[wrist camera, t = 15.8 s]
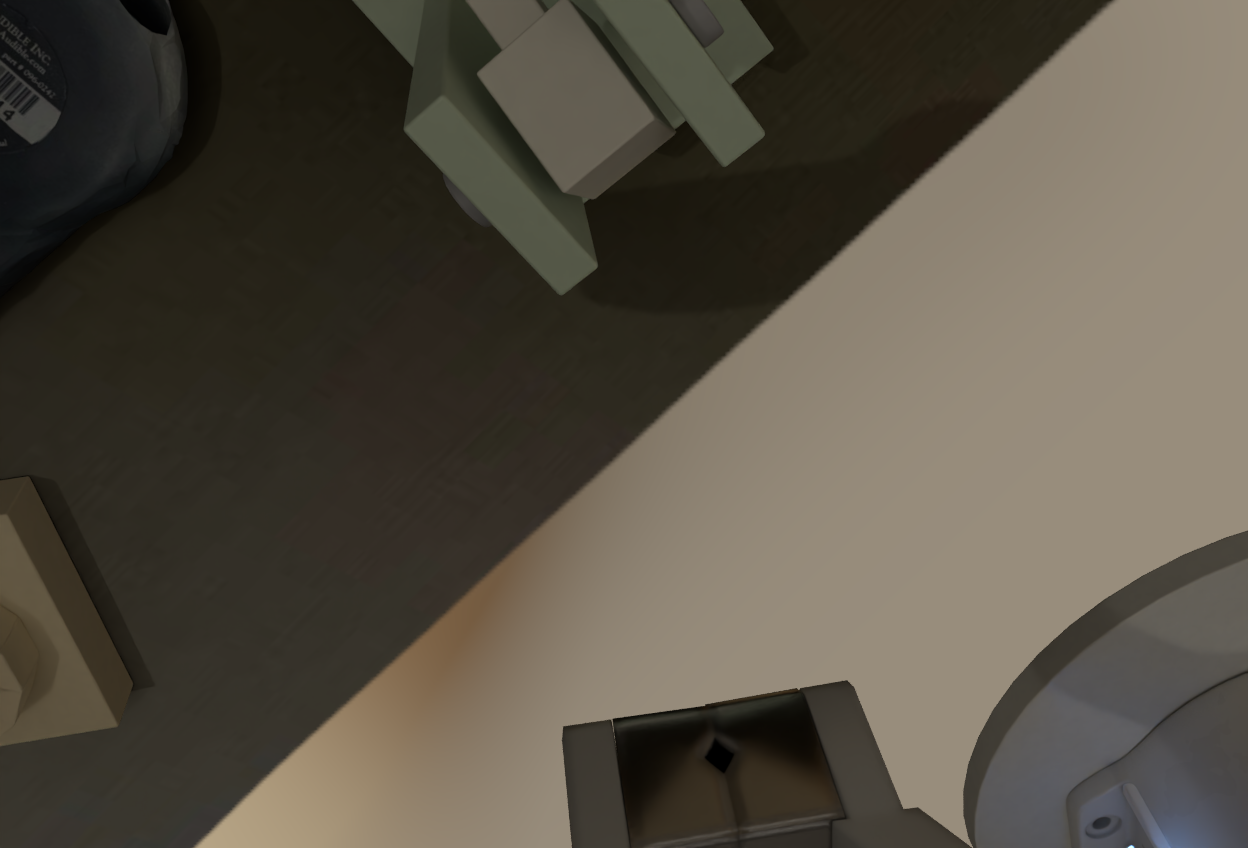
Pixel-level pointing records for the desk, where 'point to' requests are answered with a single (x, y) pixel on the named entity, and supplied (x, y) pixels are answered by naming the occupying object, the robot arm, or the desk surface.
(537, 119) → the switch lever
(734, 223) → the desk surface
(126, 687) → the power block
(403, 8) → the switch base
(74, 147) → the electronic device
